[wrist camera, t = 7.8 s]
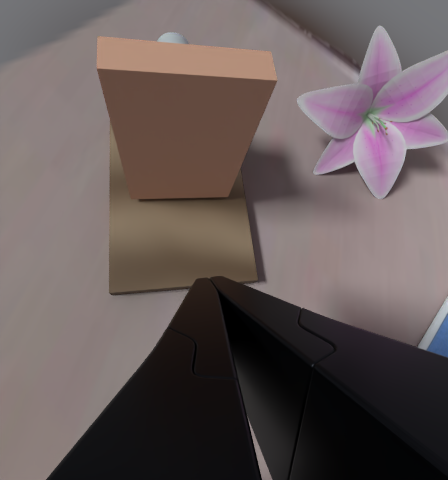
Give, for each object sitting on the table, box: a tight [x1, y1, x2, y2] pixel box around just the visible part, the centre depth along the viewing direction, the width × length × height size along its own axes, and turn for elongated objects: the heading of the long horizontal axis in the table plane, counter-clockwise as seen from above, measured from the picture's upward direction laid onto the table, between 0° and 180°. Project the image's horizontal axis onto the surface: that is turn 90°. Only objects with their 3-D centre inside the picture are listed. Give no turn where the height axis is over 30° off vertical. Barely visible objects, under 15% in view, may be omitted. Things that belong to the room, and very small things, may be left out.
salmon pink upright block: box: [97, 32, 277, 199], centre depth 18 cm, size 10×7×10 cm
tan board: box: [109, 121, 258, 295], centre depth 22 cm, size 14×10×1 cm
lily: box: [297, 26, 448, 199], centre depth 24 cm, size 12×12×10 cm
